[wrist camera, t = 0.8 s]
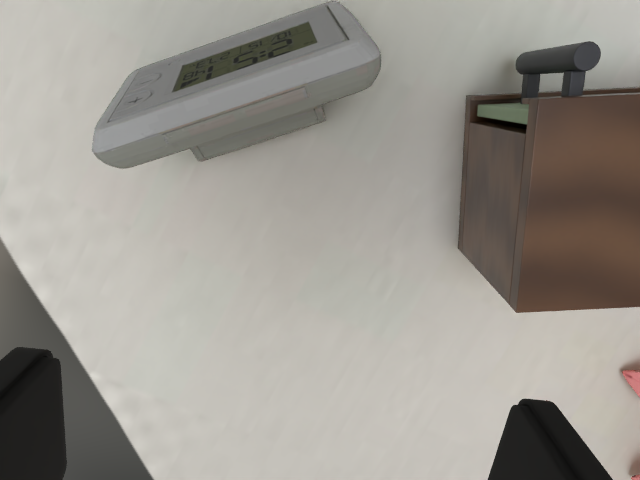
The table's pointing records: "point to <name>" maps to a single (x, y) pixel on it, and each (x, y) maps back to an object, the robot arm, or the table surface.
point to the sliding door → (543, 62)
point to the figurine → (636, 381)
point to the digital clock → (238, 89)
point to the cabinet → (555, 200)
